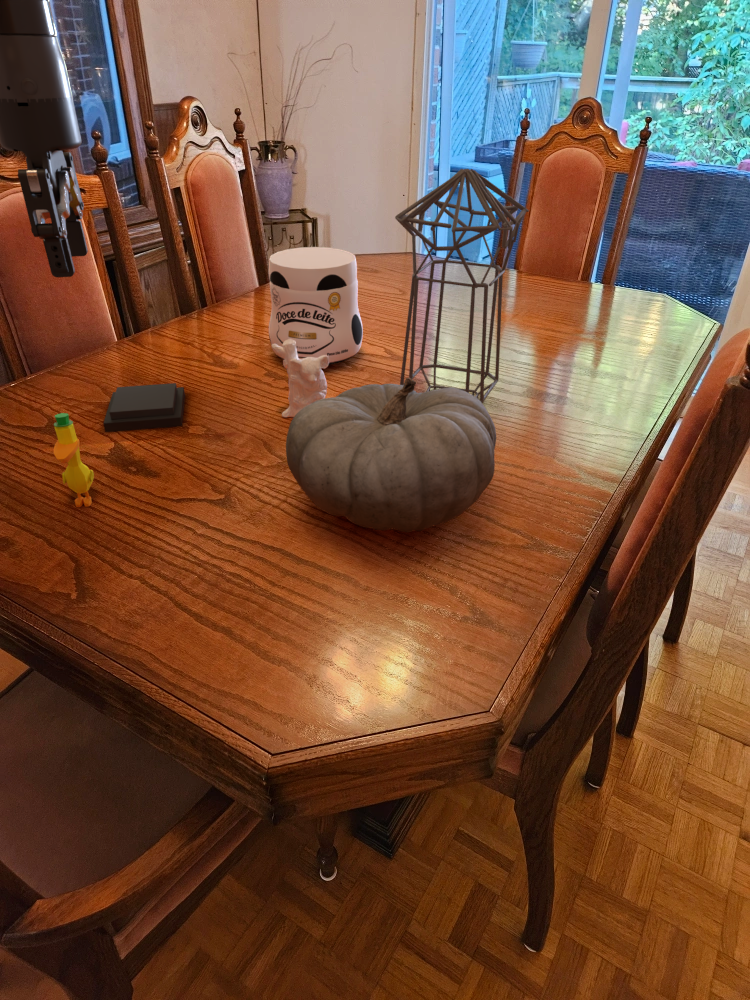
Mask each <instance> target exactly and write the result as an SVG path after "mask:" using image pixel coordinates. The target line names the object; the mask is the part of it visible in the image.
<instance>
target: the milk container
mask: <svg viewBox="0 0 750 1000" xmlns="http://www.w3.org/2000/svg"><path fill="white" fill-rule="evenodd" d="M268 279H269V291H270V292H269V293H270V300H271V301H270V302H271V311H270V316H269V317H270V318H269V322H268V339H269V342H270V346H271V349H272V351H273V352H274V354H275V356H277V357H278V358H279V359H281V360H282V361H283V360H284V356H282V355H280V354H279V353H277V352H276V351H275V350H274V349H273V348H272V344H277V345H278V346H281V347H283V345H282V344H283V342H284V341H286V340H288V339H293V340H294V341H295V342H296V350H297V355H298V358H299V359H303V358H307V357H314V358H318V357H320V356H323V355H327V356H328V357H329V365H328V366H332V365H337V364H341V363H344V362H346V361H348V360H351V359H352V358H354V357H355V356H356V355H357V354H358V353H359V351H360V349H361V347H362V343H363V335H364V328H363V327H364V326H363V320H362V318H361V314H360V310H359V304H358V295H359V293H358V291H359V282H358V265H357V258H356V254H354V253H352V252H351V251H348V250H344V249H341V248H335V247H324V246H305V247H304V246H303V247H295V248H287V249H283V250H280V251H277V252H275V253H272V254H270V256H269V259H268Z"/></svg>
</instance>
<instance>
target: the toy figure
mask: <svg viewBox="0 0 750 1000" xmlns="http://www.w3.org/2000/svg"><path fill="white" fill-rule="evenodd" d="M54 419H55V421H56V422H54V423H53V426H54V431H55V434H56V435H55V436H56V438H57V441H56V442H55V444H54V446H53V455H54V457H55V459H56V460H57V461H58V462H59V463H61V464H67V466H66V468H65V470H64V471H63V472H62V473H61V476H62V477H61V478H62V484H63V485H67V486H68V488H69V489H70V490H71V491H73V492H75V494H76V496H77V498H75V499H74V505H75V508H81V507H82V506H83V505H84V508H86V507H87V508H88V507H90V506H92V503H93V502H92V501H93V500H92V496H91V495H90V493H89V490H90V488H91V486H92V484H93V481H94V479H95V473H94V469H90V468H89V467H88V465H86V464H84V463H83V461H82V460H81V453H80V451H81V450H80V445H81V443H80V442H81V441H80V439H79V438H78V437H77V433H76V428H75V426H74V421H73V420H72V419H70V414H69V413H68V412H61V413H57V414H55V415H54ZM81 494H84V495H85V497H83V496H82V495H81Z"/></svg>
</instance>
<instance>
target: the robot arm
mask: <svg viewBox="0 0 750 1000" xmlns="http://www.w3.org/2000/svg"><path fill="white" fill-rule="evenodd" d="M82 143H83V140H82V135H81V130H80V126H79V122H78V116H77V112H76V107H75V102H74V97H73V93H72V89H71V83H70V79H69V74H68V70H67V65H66V62H65V58H64V56H63V52H62V50H61V47H60V43H59V40H58V37H57V30H56V26H55V21H54V16H53V12H52V7H51V3H50V0H0V146H1V147H2V148H3V149H4V150H6V151H10V152H22V153H23V154H24V157H25V162H26V163H25V164H26V168H21V169H20V168H18V169H17V178H18V180H19V185H20V187H21V188H20V189H21V192H22V196H23V199H24V204H25V207H26V212H27V216H28V220H29V225H30V230H31V233H32V235H33V237H34V238H39V240H42V242H43V246H44V251H45V254H46V256H47V257H46V258H47V262H48V265H49V270H50V273H51V275H52V277H55V278H72V277H73V276H74V275H75V273H76V269H75V265H74V261H73V258H74V257H85V256H86V255H88V252H89V249H88V245H87V241H86V236H85V232H84V228H83V224H82V220H83V216H84V215H83V211H84V208H85V204H84V202H83V198H82V193H81V190H80V186H79V182H78V178H77V177H78V176H77V173H76V169H75V164H74V157H73V155H72V153H71V152H70V151H68V150H75V149H78V148H80V147H81V145H82ZM63 151H64V152H63ZM48 219H50V222H47V223H46V220H48Z"/></svg>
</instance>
